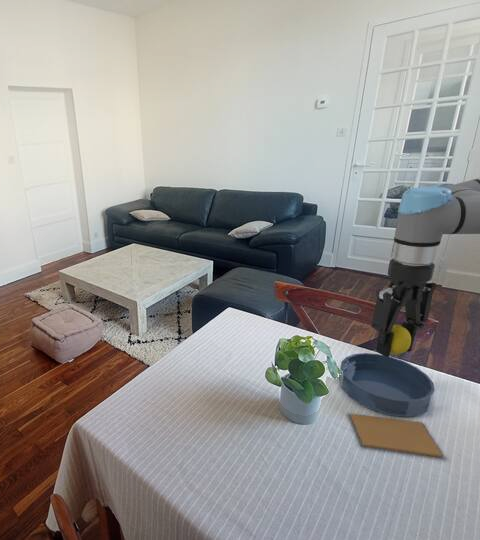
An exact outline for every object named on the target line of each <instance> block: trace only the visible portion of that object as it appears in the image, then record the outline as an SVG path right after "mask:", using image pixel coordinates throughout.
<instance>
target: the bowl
mask: <svg viewBox="0 0 480 540" xmlns="http://www.w3.org/2000/svg"><path fill="white" fill-rule="evenodd" d="M339 368H340V369H341V370H342V371H343V374H342V375H340V374H339V376H338V383H339V386H340V388H341V390H342V391H343V392H344V393H345V394H346V395H347V396H348V397H349V398H350V399H351V400H353V401H355V402H356V403H358V404H359V405H361V406H363V407H365V408H368V409H369V410H372V411H374V412H378V413H380V414H384V415H385V414H386V415H387V416H395V417H402V418H407V417H417V416H421V415H422V414H425V413H427V412H428V411H429V409H430V408H431V406H432V403H433V400H434V396H435V392H436V389H435V383H434V382H433V381H432V379H431V378H430V377H429V376H428V374H427V373H426V372H424V371H422V370H421V369H420V368H418V367H417V366H416V365H413V364H411V363H409V362H408V361H405V360H401V359H399V358H396V357H393V356H390V355H389V357H385V356H383V355H382V354H380V353H372V352H371V353H370V352H369V353H368V352H359V353H354V354H351V355H348V356H346V357H345V358H343V359H342V360H341V361H340V367H339ZM340 369H339V370H340Z"/></svg>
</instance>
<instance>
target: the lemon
mask: <svg viewBox="0 0 480 540" xmlns="http://www.w3.org/2000/svg"><path fill="white" fill-rule="evenodd" d="M391 332H393V333H394V335H393V340H392V345H391V350H390V354H391V355H402V354H404V353H406V352H408V351H407V350H408V349H409V347H410V345H411V335H410V333H409V331H408V330H407V329H406V328H404V327H402V325H400V324H394V326H393V328H392V330H391Z"/></svg>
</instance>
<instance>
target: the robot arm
mask: <svg viewBox="0 0 480 540" xmlns="http://www.w3.org/2000/svg"><path fill="white" fill-rule="evenodd" d="M394 232H395V233H394V237H393V244H392V249H391V254H390V258H391V259H390V260H389V263H388V269H387V275H388V277H389V278H390V280H389V281H390V282H389V283H388V285H387V288H385V289H383V290H382V289H380V288H379V289H377V290H376V291H375V295H376V300H375V304H374V305H375V306H374V309H373V310H374V311H373V315H372V320H371V324H370V327H371V328H372V329H374V330H376V331H377V338H376V343H377V344H376V349H375V352H377V354H380V355H383V356H385V357H389V356H390V354H391V353H390V350H391V345H392V340H393V335H394V333H393V332H391V330H392V328H393V326H394V325H396V324H395V323H396V321H397V319H398V317H399V315H400V312H401V311H402V308H403V307H404V309H405V310H404V311H405V321H404V322H402V323H401V326H402V327H404V328H406V329H407V330H408V331H409V333H410V335H411V345H410V347H409V349H408V350H407V351H406V352H412V351H413V350H412V349H413V345H414V340H415V337H416V335H417V331H418V328H419V329H422V328H424V326H425V324H424V323H426V322H428V319H429V315H430V309H431V305H432V300H433V294H434V292H435V290H436V288H437V283H435V282H432V281H431V280H432V279H433V275H434V271H435V267H436V265H435V263H436V262H437V260H438V255H439V252H440V251H439V250H440V246H441V243H442V237H443V235H480V177H478V178H475V179H474V178H473V179H470V180H465V181H461V182H458V183H455V184H453V183H437V184H434V185H432V186H419V187H417V186H416V187H412V188H411V187H410V188H409V189H407V190H405V191H404V192H403V194H402V196H401V199H400V203H399V207H398V210H397V219H396V226H395V231H394Z"/></svg>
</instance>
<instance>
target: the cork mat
mask: <svg viewBox="0 0 480 540" xmlns="http://www.w3.org/2000/svg"><path fill="white" fill-rule="evenodd" d="M350 417H351V419H352V422H353V424H354V427H355V429H356V431H357V434H358V436H359V439H360V441H361V444H362V446H363V447H369V448H376V449H383V450H389V451H396V452H402V453H410V454H416V455H424V456H430V457H438V458H442V457H443V454H442V452H441V451H440V449H439V447H438V446H437V445H436V443H435V441H434V440H433V439H432V437H431V436H430V433H429V432H428V431H427V429H426V428H425V426H424V425H423V423H422V422H420V421H412V420H404V419H396V418H387V417H379V416H371V415H362V414H354V413H351V414H350Z"/></svg>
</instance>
